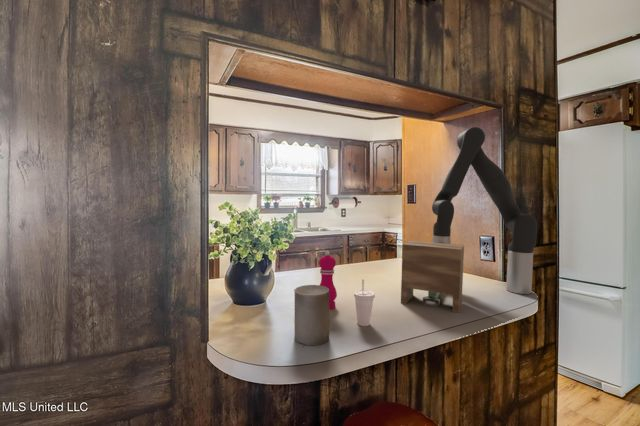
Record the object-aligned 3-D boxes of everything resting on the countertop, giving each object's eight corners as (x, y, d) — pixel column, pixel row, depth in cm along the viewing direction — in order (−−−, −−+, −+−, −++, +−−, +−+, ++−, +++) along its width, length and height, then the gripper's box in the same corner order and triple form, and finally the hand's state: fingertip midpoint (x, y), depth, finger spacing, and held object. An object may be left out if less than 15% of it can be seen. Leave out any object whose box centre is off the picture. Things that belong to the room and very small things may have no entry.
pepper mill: (315, 309, 113) (316, 252, 112) (316, 303, 120) (317, 249, 119) (336, 310, 113) (337, 253, 112) (336, 303, 120) (337, 249, 119)
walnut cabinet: (408, 294, 133) (409, 240, 132) (461, 303, 123) (464, 245, 122) (400, 302, 122) (402, 244, 121) (458, 312, 113) (461, 249, 112)
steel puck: (424, 300, 126) (424, 295, 126) (440, 303, 124) (440, 297, 123) (421, 305, 121) (421, 299, 121) (438, 307, 118) (439, 302, 118)
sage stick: (437, 286, 146) (438, 277, 145) (443, 287, 144) (444, 278, 144) (428, 300, 126) (428, 290, 125) (434, 301, 124) (435, 291, 124)
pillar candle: (325, 330, 96) (326, 279, 96) (332, 344, 87) (332, 289, 86) (292, 332, 95) (292, 280, 94) (295, 347, 85) (295, 290, 85)
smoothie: (349, 321, 103) (350, 277, 102) (366, 318, 106) (367, 276, 105) (359, 329, 97) (361, 282, 97) (378, 326, 100) (379, 280, 99)
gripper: (459, 246, 141) (458, 286, 142) (426, 243, 148) (425, 281, 149) (457, 248, 135) (456, 290, 136) (422, 245, 141) (421, 285, 142)
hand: (439, 285), depth 142 cm, fingers closed on sage stick, 2 cm apart
